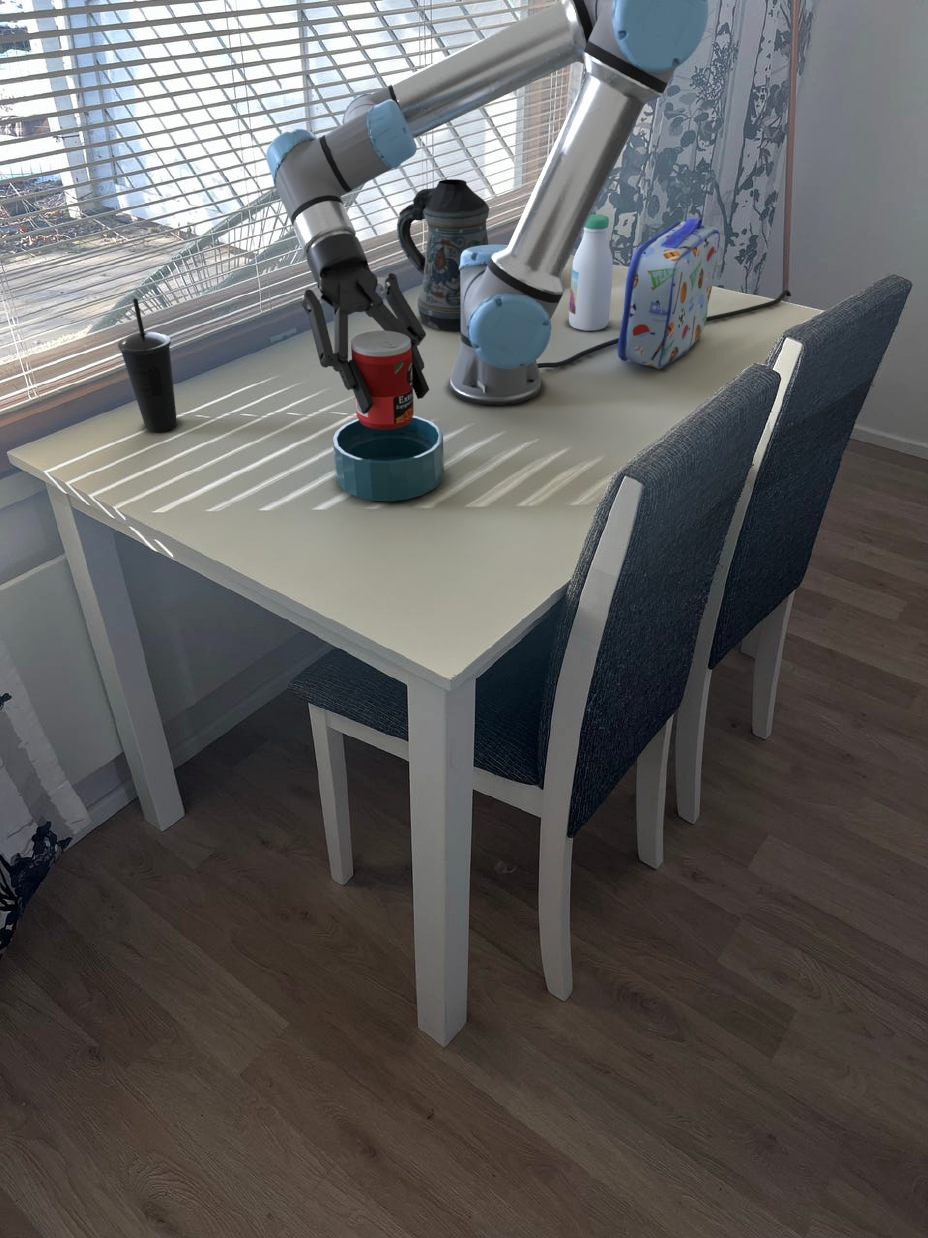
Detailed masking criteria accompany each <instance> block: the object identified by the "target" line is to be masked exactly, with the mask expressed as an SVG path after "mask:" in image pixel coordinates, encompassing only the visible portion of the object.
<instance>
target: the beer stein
mask: <svg viewBox="0 0 928 1238" xmlns="http://www.w3.org/2000/svg"><path fill="white" fill-rule="evenodd" d="M489 215H490V207H489V205H488V203H487V202H486V201H485V199H483V198H482V197H481V196H479V195H478V194H476V192H475V191H473V190H472V188H470V187H469V185H468V184H467V181H466V180H463V179H458V178H455V179H453V178H450V179H441V180H439V181H438V183H437V185H436V186H435V187H432V188H423V189H421V190H418V192H417V193H416V194H415V196H414V198H413V199H412V203H410V204H409V205H407V206H405V207H404V208H403V209H401V211H400V212H399V214H398V219H397V223H396V235H397V240H398V243H399V245H400V248H401V249H402V251H403V253H404V255H405V256H406V258H407V259H408V261H409V262H410V263H411V264H412V265H413V267H414V268H415V269H416V270H417V271H418V272H419V273H420V274H422V275H423V280H422V285H421V289H420V293H419V296H418V299H417V310H418V313H419V317H420V320H421V323H422V324H424V325H425V326H427V327H428V328H432V329H436V330H438V331H446V332H461V286H460V271H459V266H460V260H461V254H462V252H463V251H464V250H466V249H468V248H470V247H475V246H482V245H489V237H488V230H487V221H488V218H489ZM424 220H425V221H426V223H427V236H426V237H427V238H426V248H425V256H424V255H423V253H422V252H421V251H420V250H419V249H418V247H417V246H416V243H415V242H414V239H413V238H412V235H411V227H412V224H413V222H414V221H416V222H417V221H419V222H421V221H424Z"/></svg>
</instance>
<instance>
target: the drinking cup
mask: <svg viewBox="0 0 928 1238" xmlns="http://www.w3.org/2000/svg"><path fill="white" fill-rule="evenodd" d="M132 304H133V307H134V308H133V309H134V312H135V317H136V321H137V322H136V323H137V327H138V332H134V333H131V334H129V335H128V336H126V337H124V338H122V339H121V340H119V341H118V343H117V348H118V350H119V351H120V352H121V356H122V358H123V362H124V365H125V368H126V372H127V374H128V377H129V380H130V384H131V386H132V389H133V393H134V396H135V399H136V402H137V405H138V409H139V411H140V414H141V418H142V421H143V424H144V426H145V430H146V431H148V432H150V433H165V432H169V431H172V430H173V429H175V428H176V427H177V426H178V420H177V419H178V418H177V409H176V397H175V390H174V380H173V379H174V378H173V369H172V358H171V348H170V346H171V338H170V337H169V336H168V335H166V334H163V333H159V332H155V331H150V330H149V331H148V330H147V331H146V330H145V329H144V328H145V327H144V323H143V318H142V313H141V310H140V305H139V299H138V298H132Z"/></svg>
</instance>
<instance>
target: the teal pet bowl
mask: <svg viewBox="0 0 928 1238" xmlns="http://www.w3.org/2000/svg"><path fill="white" fill-rule="evenodd" d="M332 449H333V457H334V468H335V477H336V481H337V485H338V486H339V487H340V488H341V489H342V490H343V491H344V492H345V493H347V494H350V495H351V496H354V497H356V498H359V499H364V500H368V501H373V502H398V501H404V500H405V501H406V500H410V499H413V498H417V497H420V496H424V495H425V494H427V493H429V492H431V491H432V490H434V489H436V488H437V487H438V486H439V485H440V483H441V482H442V481H443V479H444V474H445V458H444V434H443V432H442V430H441V428H440V427H439V426H438V425H437V424H435V423H434V422H433V421H431V420H428V419H425V418H423V417H421V416H417V415H413V418H412V420H411V421H410V422H409V423H408V424H407V425H405V426H403V427H400V428H396V429H388V430H382V429H374V428H370V427H367V426H365V425H363V424H362V423H361V422H360V421H359V419H358V418H356V419H353V420H351V421H350V422H347V423H344V424H343V425H342V426H340V428H338V429H337V430H335V433H334V435H333V437H332Z"/></svg>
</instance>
